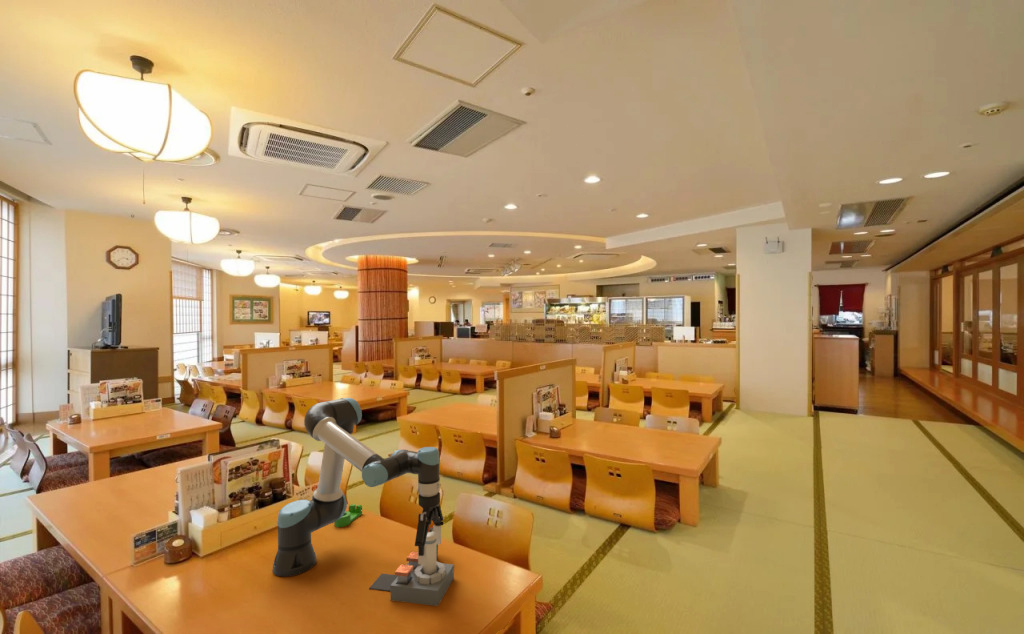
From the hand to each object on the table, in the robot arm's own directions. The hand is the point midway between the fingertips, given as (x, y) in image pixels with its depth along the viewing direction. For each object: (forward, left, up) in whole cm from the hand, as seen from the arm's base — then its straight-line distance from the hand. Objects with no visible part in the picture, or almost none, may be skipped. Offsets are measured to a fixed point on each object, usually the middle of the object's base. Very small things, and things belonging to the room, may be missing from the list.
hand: (430, 553), depth 153 cm
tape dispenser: (-61, +45, -13) cm, 77 cm away
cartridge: (0, 0, -8) cm, 8 cm away
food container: (-7, +18, -13) cm, 23 cm away
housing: (-3, 0, -13) cm, 13 cm away
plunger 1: (-8, -4, -10) cm, 14 cm away
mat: (-17, +1, -13) cm, 21 cm away
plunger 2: (-8, +5, -10) cm, 14 cm away
